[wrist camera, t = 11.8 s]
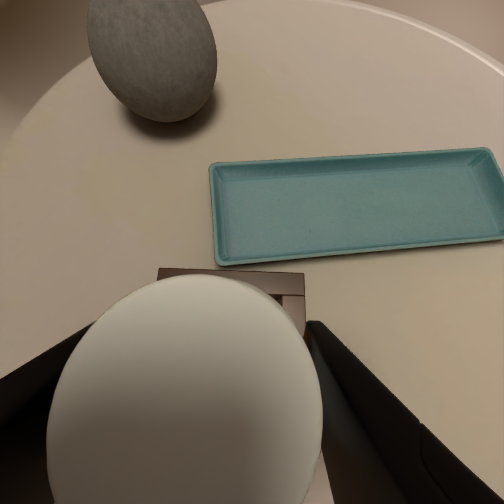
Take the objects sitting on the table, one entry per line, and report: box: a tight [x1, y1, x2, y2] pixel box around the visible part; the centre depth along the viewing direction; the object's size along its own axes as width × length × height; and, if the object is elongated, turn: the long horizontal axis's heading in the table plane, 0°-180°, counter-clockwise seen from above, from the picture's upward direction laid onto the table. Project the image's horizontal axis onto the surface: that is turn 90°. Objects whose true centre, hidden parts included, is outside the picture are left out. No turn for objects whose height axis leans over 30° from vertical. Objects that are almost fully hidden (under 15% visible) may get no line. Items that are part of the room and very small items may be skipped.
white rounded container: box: [46, 274, 323, 504], centre depth 9 cm, size 6×6×10 cm
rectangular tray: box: [209, 147, 504, 266], centre depth 22 cm, size 26×9×2 cm, turn 96°
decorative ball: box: [87, 0, 217, 122], centre depth 21 cm, size 10×10×10 cm
